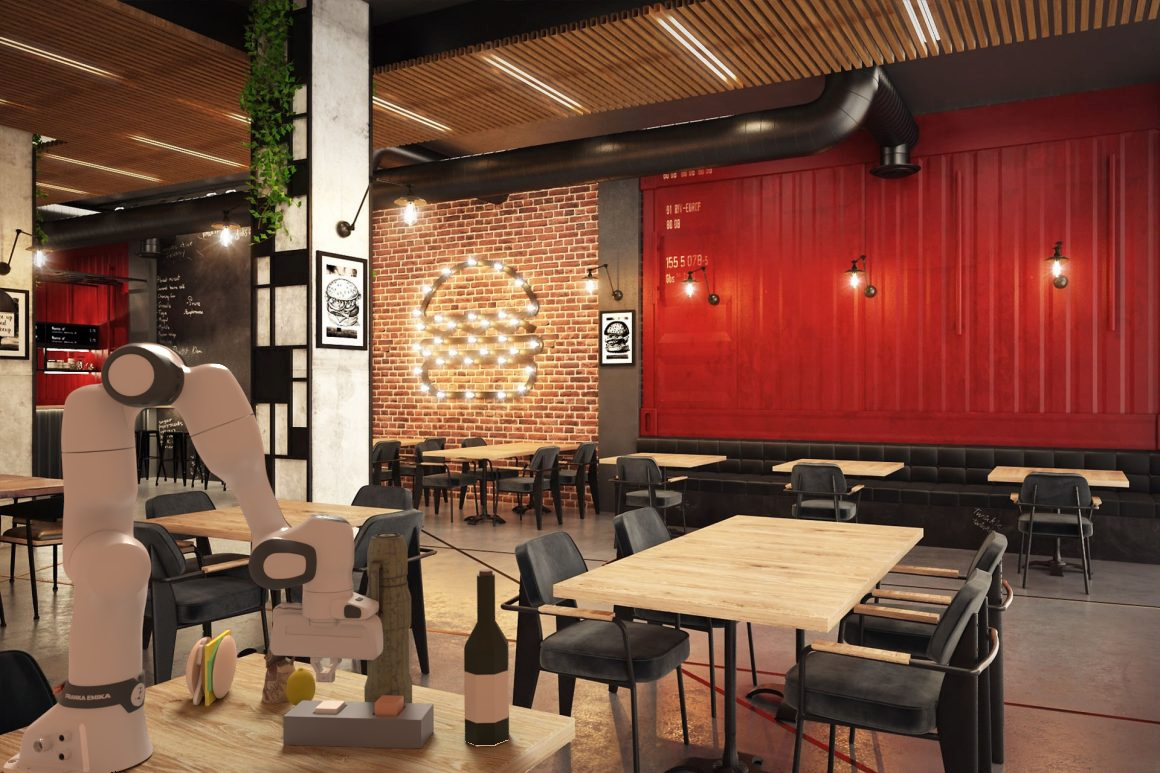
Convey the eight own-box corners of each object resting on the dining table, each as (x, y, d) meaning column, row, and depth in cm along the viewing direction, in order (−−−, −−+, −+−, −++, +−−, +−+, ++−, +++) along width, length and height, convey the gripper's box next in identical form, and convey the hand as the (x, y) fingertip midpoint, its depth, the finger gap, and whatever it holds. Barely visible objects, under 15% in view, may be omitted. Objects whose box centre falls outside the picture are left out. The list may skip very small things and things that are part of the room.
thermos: (421, 707, 170) (419, 530, 171) (400, 730, 158) (399, 539, 159) (378, 706, 171) (376, 529, 172) (354, 728, 160) (353, 539, 160)
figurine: (267, 692, 180) (266, 634, 180) (302, 690, 181) (301, 633, 181) (257, 704, 173) (257, 644, 173) (294, 702, 174) (293, 642, 174)
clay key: (374, 722, 153) (374, 703, 153) (382, 714, 157) (382, 695, 157) (396, 723, 153) (396, 703, 153) (403, 715, 157) (403, 695, 157)
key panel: (283, 744, 153) (283, 716, 153) (302, 727, 160) (302, 700, 161) (421, 748, 150) (421, 719, 150) (433, 731, 158) (433, 703, 158)
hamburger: (202, 686, 184) (202, 630, 185) (241, 685, 185) (241, 629, 185) (178, 706, 172) (177, 646, 173) (220, 705, 173) (219, 645, 173)
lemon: (319, 704, 173) (319, 664, 173) (308, 714, 167) (308, 672, 167) (293, 703, 173) (293, 663, 174) (281, 713, 168) (281, 672, 168)
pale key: (315, 728, 154) (315, 708, 154) (324, 719, 158) (323, 700, 158) (336, 728, 154) (336, 708, 154) (345, 720, 158) (345, 701, 158)
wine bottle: (498, 750, 149) (496, 576, 150) (455, 743, 152) (454, 573, 152) (518, 732, 157) (516, 567, 157) (477, 726, 160) (475, 564, 160)
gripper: (264, 605, 154) (262, 683, 154) (375, 610, 152) (373, 689, 151) (280, 598, 160) (278, 673, 160) (387, 603, 158) (385, 679, 158)
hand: (325, 681), depth 156 cm, fingers closed
